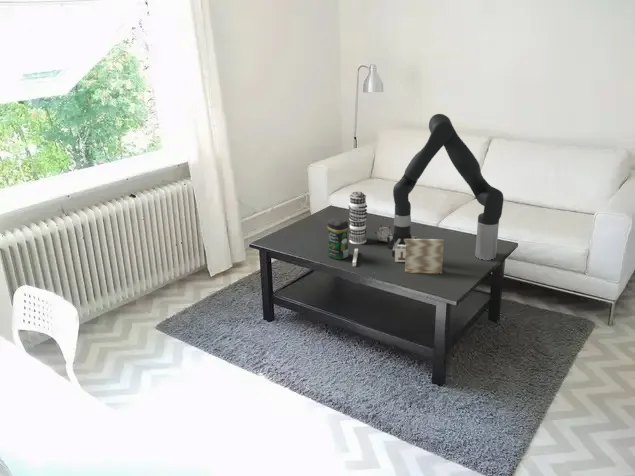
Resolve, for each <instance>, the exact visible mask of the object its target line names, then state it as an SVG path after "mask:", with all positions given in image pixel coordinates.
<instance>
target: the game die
mask: <svg viewBox="0 0 635 476" xmlns="http://www.w3.org/2000/svg"><path fill="white" fill-rule="evenodd" d="M391 227H392V226H389V227H386V226H382V225H381V224H380V227H379V229H377V231H376V232H374V233H375V234H376V236H377V238H378V241H377V242H385V243H386V244H388V242H387V236H388V235H389V236H393V233H392V230H391Z"/></svg>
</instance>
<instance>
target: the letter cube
mask: <svg viewBox="0 0 635 476" xmlns="http://www.w3.org/2000/svg"><path fill="white" fill-rule="evenodd" d="M405 254H406V244H405V245H399V244H398V245H397V247H396V248H395V258H394V262H395V263H405Z"/></svg>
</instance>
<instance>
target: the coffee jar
mask: <svg viewBox="0 0 635 476" xmlns="http://www.w3.org/2000/svg"><path fill="white" fill-rule="evenodd" d="M327 232H328V242H327V243H328V244H327V245H328V246H327V256H328V257H330V258H332V259H336V260H345V259H347V258H348V257H349V253H350V252H349V241H348V239H349V238H348V232H349V222H348V221H347V220H344V219H342V218H338V217H335V216H334V217H332V218H329V219H328V220H327Z"/></svg>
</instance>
